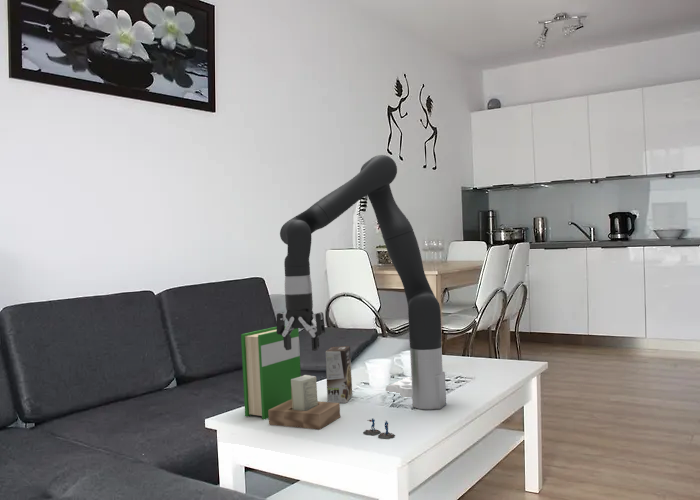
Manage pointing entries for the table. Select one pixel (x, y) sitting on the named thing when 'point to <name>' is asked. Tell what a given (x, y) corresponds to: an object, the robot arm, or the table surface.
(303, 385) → the skincare box
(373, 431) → the figurines
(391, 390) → the white brass knuckles
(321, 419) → the walnut holder block
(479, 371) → the table surface
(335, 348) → the coffee box
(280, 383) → the hardback book
